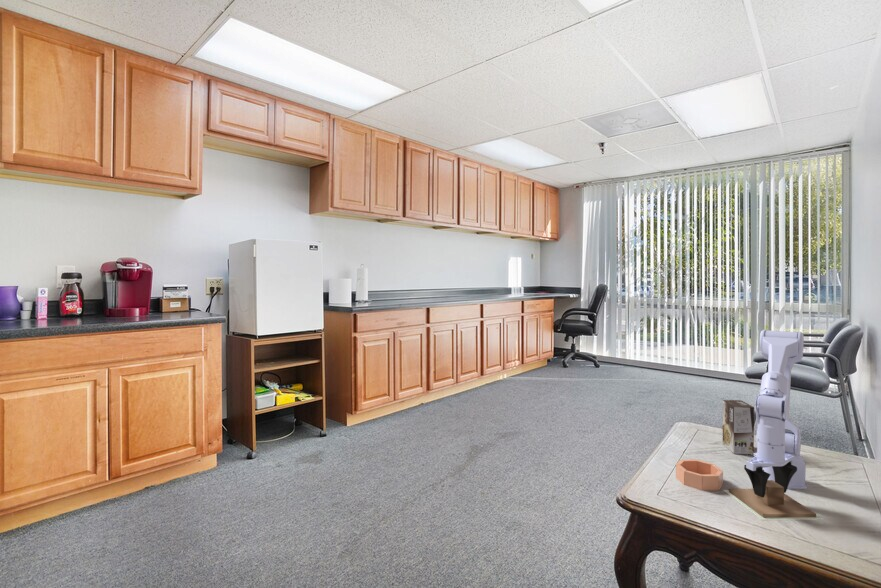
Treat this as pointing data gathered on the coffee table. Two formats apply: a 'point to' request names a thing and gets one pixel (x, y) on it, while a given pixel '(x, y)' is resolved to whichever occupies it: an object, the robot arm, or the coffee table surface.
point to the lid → (772, 502)
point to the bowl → (699, 474)
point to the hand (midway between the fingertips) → (770, 493)
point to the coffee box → (738, 426)
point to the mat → (773, 517)
